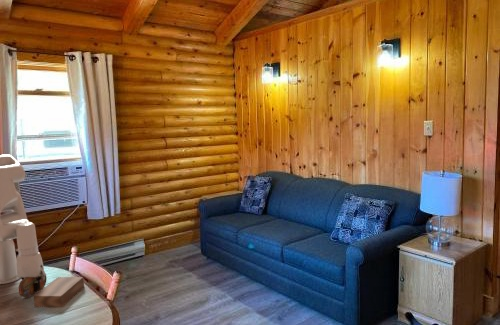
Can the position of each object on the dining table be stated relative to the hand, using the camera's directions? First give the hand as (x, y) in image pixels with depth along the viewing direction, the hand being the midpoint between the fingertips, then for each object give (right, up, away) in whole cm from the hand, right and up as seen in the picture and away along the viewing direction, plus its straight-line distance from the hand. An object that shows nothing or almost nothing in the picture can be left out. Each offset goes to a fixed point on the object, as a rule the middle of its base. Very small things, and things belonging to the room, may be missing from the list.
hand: (33, 290), depth 179 cm
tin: (0, -1, 0) cm, 2 cm away
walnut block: (+14, -1, -5) cm, 15 cm away
